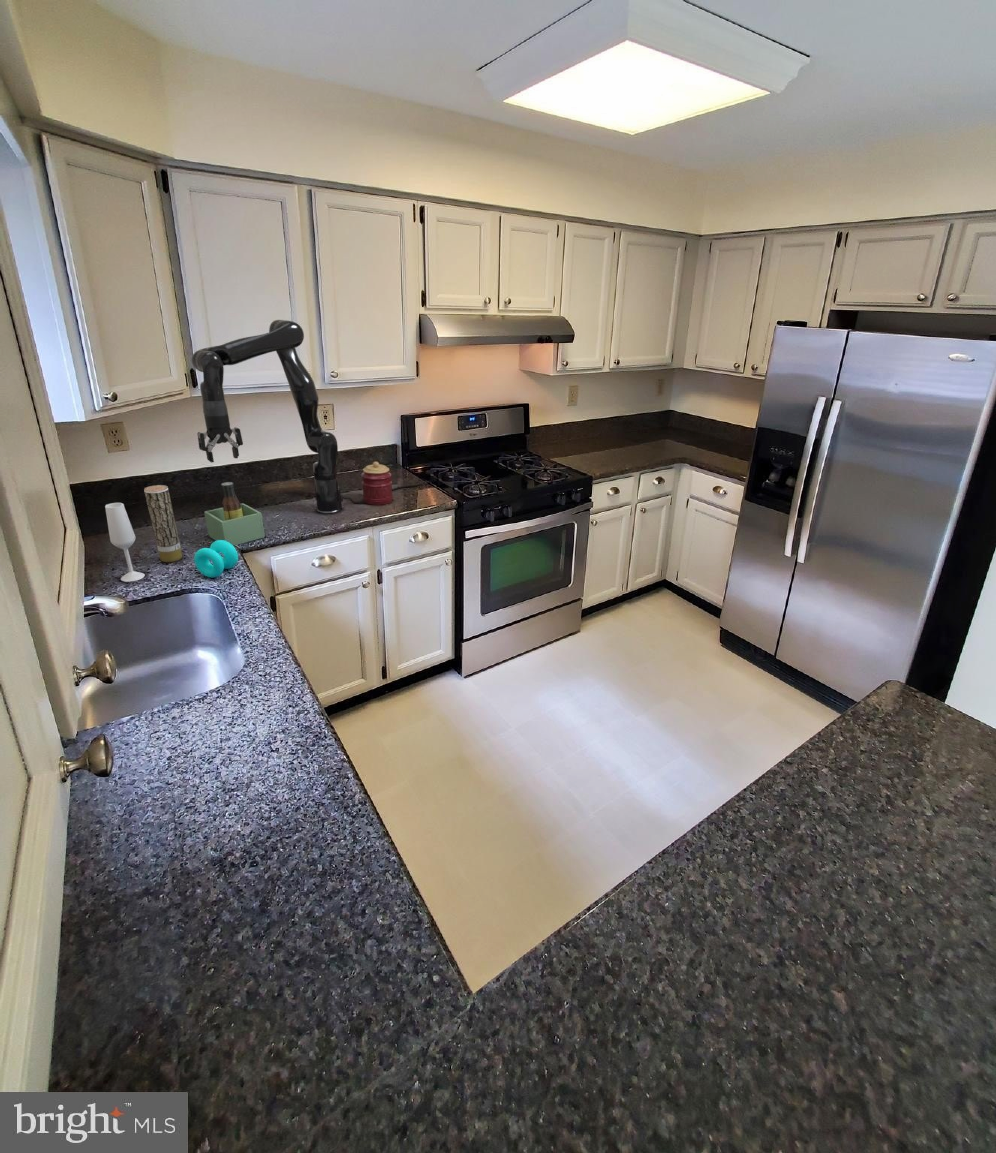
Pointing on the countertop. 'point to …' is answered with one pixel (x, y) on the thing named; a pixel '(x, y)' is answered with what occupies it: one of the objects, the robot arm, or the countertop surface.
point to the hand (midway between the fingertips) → (223, 459)
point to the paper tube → (163, 523)
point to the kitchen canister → (377, 484)
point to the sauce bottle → (230, 502)
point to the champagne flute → (122, 536)
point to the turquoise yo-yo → (216, 558)
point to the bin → (235, 526)
